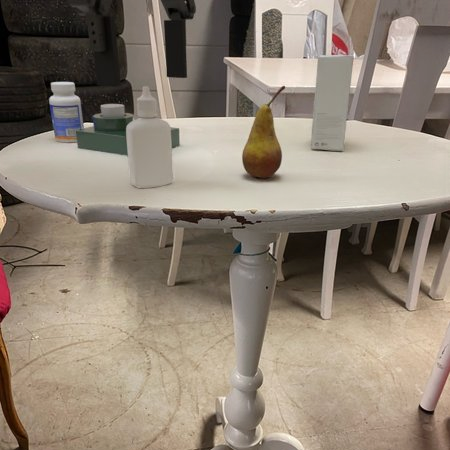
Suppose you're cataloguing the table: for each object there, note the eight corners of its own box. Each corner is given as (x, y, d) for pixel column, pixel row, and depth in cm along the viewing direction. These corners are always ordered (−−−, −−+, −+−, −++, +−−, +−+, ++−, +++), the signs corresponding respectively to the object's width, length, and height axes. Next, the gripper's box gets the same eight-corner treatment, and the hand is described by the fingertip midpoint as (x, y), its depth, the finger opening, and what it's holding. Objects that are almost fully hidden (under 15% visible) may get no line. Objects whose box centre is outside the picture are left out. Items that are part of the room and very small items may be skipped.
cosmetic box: (343, 152, 81) (356, 55, 74) (308, 150, 82) (317, 54, 75) (342, 142, 88) (354, 53, 81) (310, 140, 89) (319, 53, 82)
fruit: (266, 169, 70) (271, 81, 64) (287, 179, 66) (295, 86, 60) (233, 173, 68) (235, 83, 62) (253, 183, 64) (257, 87, 58)
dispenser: (77, 148, 81) (73, 117, 79) (118, 137, 90) (115, 109, 87) (143, 157, 76) (140, 125, 73) (179, 145, 84) (178, 116, 82)
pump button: (97, 118, 81) (95, 105, 80) (112, 115, 84) (110, 103, 83) (115, 120, 79) (113, 107, 78) (130, 117, 82) (128, 105, 81)
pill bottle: (62, 136, 90) (53, 80, 85) (89, 137, 89) (82, 81, 84) (50, 142, 85) (40, 83, 80) (79, 143, 85) (71, 84, 80)
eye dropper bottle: (132, 179, 65) (124, 84, 59) (173, 179, 65) (169, 84, 59) (129, 189, 61) (119, 88, 55) (172, 188, 61) (168, 88, 55)
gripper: (65, -217, 35) (100, 92, 45) (222, -127, 54) (222, 75, 65) (-4, -197, 38) (44, 88, 48) (168, -119, 57) (176, 73, 68)
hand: (146, 81), depth 57 cm, fingers open, 13 cm apart
